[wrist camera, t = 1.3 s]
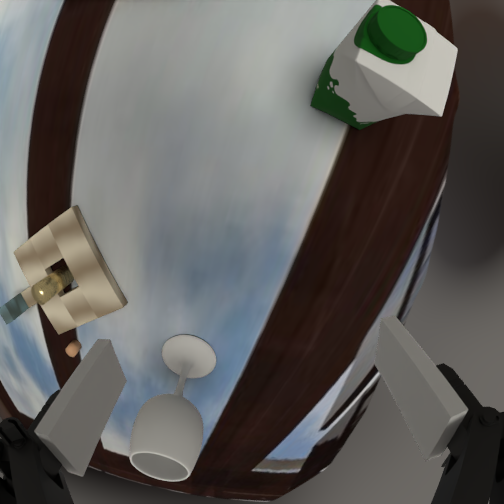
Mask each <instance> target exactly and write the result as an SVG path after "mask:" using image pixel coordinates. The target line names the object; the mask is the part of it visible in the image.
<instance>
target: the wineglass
mask: <svg viewBox="0 0 504 504" xmlns="http://www.w3.org/2000/svg"><path fill="white" fill-rule="evenodd" d="M162 357H163V360H164V362H165V364H166V365H167V366H168V368H169V369H170V370H172V371H173V372H174V373H176V374H178V375H180V378H179V381H178V385H177V388H176V390H175V392H174V394H161V395H157V396H155V397H153V398H151V399H149V400H148V401H147V402H145V404H144V405H143V406H142V407H141V409H140V411H139V413H138V415H137V417H136V419H135V422H134V425H133V429H132V433H131V440H130V454H129V457H130V461H131V463H132V464H133V466H134V467H135V468H136V469H138V470H139V471H141V472H142V473H144V474H146V475H148V476H150V477H153V478H156V479H160V480H165V481H181V480H184V479H186V478H188V477H189V476H190V474H191V472H192V470H193V468H194V466H195V463H196V461H197V459H198V456H199V453H200V449H201V445H202V439H203V421H202V418H201V415H200V413H199V411H198V410H197V408H196V407H195V406H194V405H193V404H192V403H191V402H190V401H189V400H187V399H186V398H184V397H183V389H184V385H185V381H186V378H200V377H204V376H206V375H208V374H209V373H211V372H212V371H213V369H214V368H215V365H216V355H215V353H214V351H213V349H212V348H211V346H210V345H209V344H208V343H206V342H205V341H204V340H202V339H200V338H198V337H195V336H191V335H178V336H174V337H172V338H170V339H169V340H167V341H166V342H165V344H164V345H163V348H162Z"/></svg>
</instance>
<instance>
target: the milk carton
mask: <svg viewBox="0 0 504 504" xmlns="http://www.w3.org/2000/svg"><path fill="white" fill-rule="evenodd" d="M457 50H458V49H457V48H456V47H455V46H454V45H453V44H451V43H450V42H449V41H448V40H446V39H445V38H444V37H442V36H441V35H440V34H438V33H437V32H436V30H435V29H434V28H433V27H431V26H430V25H429V24H427V23H425V22H423V21H422V20H420V19H419V18H417V17H416V16H415V15H413V14H412V13H411V12H410V11H408V10H406V9H404V8H402V7H400V6H398V5H396V4H395V3H393V2H391V1H389V0H376V1H375V2H374V3H373V5H372V6H371V7H370V8H369V9H368V11H367V12H366V13H365V14H364V15H363V17H362V18H361V19H360V20H359V22H358V23H357V24H356V25H355V26H354V28H353V29H352V30H351V31H350V32H349V34H348V35H347V36H346V37H345V38H344V40H343V41H342V42H341V43H340V45H339V46H338V47H337V48H336V50H335V51H334V52H333V53H332V54H331V56H330V57H329V58H328V60H327V62H326V64H325V66H324V68H323V70H322V73H321V75H320V78H319V80H318V83H317V86H316V90H315V93H314V96H313V99H312V102H311V105H310V106H312V107H314V108H317V109H319V110H321V111H323V112H325V113H327V114H329V115H331V116H333V117H335V118H337V119H339V120H341V121H343V122H345V123H347V124H349V125H351V126H353V127H355V128H357V129H359V130H361V129H363V128H365V127H367V126H369V125H371V124H373V123H375V122H377V121H380V120H384V119H387V118H391V117H394V116H398V115H402V114H420V115H433V116H442V114H443V111H444V107H445V103H446V100H447V96H448V92H449V88H450V84H451V79H452V75H453V70H454V66H455V61H456V55H457Z"/></svg>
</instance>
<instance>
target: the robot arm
mask: <svg viewBox="0 0 504 504" xmlns="http://www.w3.org/2000/svg"><path fill="white" fill-rule="evenodd" d="M375 365H376V367H377V369H378V371H379V372H380V374H381V376H382V378H383V379H384V382H385V383H386V385H387V387H388V389H389V391H390V393H391V394H392V396H393V398H394V400H395V402H396V404H397V405H398V408H399V410H400V411H401V414H402V415H403V417H404V419H405V421H406V423H407V425H408V427H409V429H410V431H411V433H412V435H413V437H414V439H415V441H416V443H417V445H418V447H419V449H420V451H421V453H422V455H423V457H424V459H425V461H429V460H431V459H433V458H436V457H438V456H440V455H442V454H443V452H444V451H445V449H446V447H448V448H449V450H450V454H449V455H448V457H447V458H446V460H445V461H444V463H443V464H442V467H444V466H445V468H444V471H443V474H442V477H441V480H440V482H439V485H438V488H437V490H436V493H435V495H434V498H433V500H432V503H431V504H488V501H489V504H504V412H501V413H499V412H498V411H497V410H496V409H495V408H491V407H483V406H482V405H481V404H480V403H479V402H478V400H477V399H476V398H475V396H474V395H473V394H472V392H471V391H470V390H469V389H468V387H467V386H466V385H464V382H463V381H462V380H461V379H460V378H459V376H458V375H457V374H456V372H455V371H454V370H453V369H452V368H450V367H449V366H447V365H445V364H444V363H443V364H440V365H437V366H435V364H434V363H433V362H432V360H431V359H430V358H429V357H428V355H427V354H426V353H425V352H424V351H423V349H422V348H421V347H420V345H419V344H418V343H417V342H416V340H415V339H414V338H413V337H412V336H411V334H410V333H409V332H408V331H407V330H406V328H405V327H404V326H403V325H402V324H401V322H400V321H399V320H398V319H397V318H396V316H391V317H386V318H381V322H380V330H379V337H378V344H377V351H376V357H375ZM126 381H127V380H126V378H125V376H124V373H123V371H122V369H121V366H120V364H119V361H118V359H117V356H116V354H115V351H114V349H113V346H112V343H111V340H108V339H98V340H97V341H96V342H95V344H94V345H93V346H92V348H91V349H90V350H89V352H88V353H87V355H86V356H85V357H84V359H83V360H82V361H81V363H80V364H79V366H78V367H77V368H76V370H75V371H74V373H73V374H72V375H71V377H70V378H69V380H68V381H67V382H66V384H65V385H64V387H63V388H62V390H57V391H56V392H55V393H54V394H52V395H51V396H50V397H49V399H48V400H47V402H46V403H45V405H44V406H43V408H42V409H41V411H40V412H39V414H38V415H37V417H36V418H35V420H34V421H33V423H32V424H31V426H30V427H29V429H28V430H26V429H25V428H24V426H23V425H22V424H21V422H20V421H19V420H18V419H17V418H14V417H10V418H6V419H4V420H3V421H2V422H1V423H0V437H1V438H2V439H0V472H1V473H3V474H4V476H3V479H2V478H1V477H0V504H74V503H73V500H72V498H71V495H70V492H69V490H68V487H67V484H66V482H65V478H64V475H63V473H62V472H61V470H60V467H61V466H62V465H63V466H64V467H65V468H66V469H67V471H68V472H70V473H73V474H76V475H79V476H83V475H84V473H85V471H86V468H87V466H88V464H89V461H90V459H91V457H92V454H93V452H94V450H95V447H96V445H97V443H98V441H99V439H100V436H101V434H102V432H103V430H104V428H105V425H106V423H107V421H108V419H109V417H110V415H111V412H112V410H113V408H114V406H115V404H116V402H117V400H118V398H119V396H120V394H121V392H122V390H123V387H124V385H125V383H126ZM445 464H446V465H445ZM489 497H490V500H489Z"/></svg>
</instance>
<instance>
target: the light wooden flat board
mask: <svg viewBox="0 0 504 504" xmlns="http://www.w3.org/2000/svg"><path fill="white" fill-rule="evenodd" d="M14 254H15V257H16V259H17V261H18V263H19V265H20V267H21V269H22V271H23V273H24V275H25V277H26V279H27V281H28V283H29V285H30V287H29V288H27V289H26V290H24V291H23V292H21V293H20V294H18V295H17V296H15V297H14V298H13V299H11V300H10V301H9V302H7V303H6V304H4V305H3V306H2V307H0V314H1V316H2V317H3V319H4V321H5V323H6V324H8V323H10V322H12V321H13V320H15V319H16V318H17V317H18V316H20V315H21V314H22V313H23V312H24V311H26V310H27V309H28V308H30V307H31V306H33V305H35V304H36V303H37V302H36V301H35V300H34V299H33V297H32V294H31V288H32V286H33V285H35V284H36V283H37V282H39V281H40V280H42V279H43V278H45V277H46V276H48V275H49V274H51V273H52V272H53V271H52V269H51V267H50V266H51V265H53V264H54V263H56V262H58V261H59V260H61V259H62V258H64V260H65V262H66V263H67V265H68V267H69V269H70V271H71V273H72V275H73V277H74V279H75V280H76V282H77V284H78V287H76V288H74V289H72V290H70V291H68V292H66V293H64V291H63V290H61V291H60V292H59V293H58V294H56V295H55V296H54V297H53V298H51V299H50V300H49V301H48V302H46V303H45V304H44V305H41V307H42V308H43V310H44V312H45V313H46V315H47V317H48V318H49V320H50V322H51V323H52V325H53V326H54V328H55V330H56V331H57V333H58V334H61V333H63V332H66V331H68V330H71V329H73V328H75V327H78V326H80V325H83V324H85V323H87V322H90V321H92V320H95V319H97V318H99V317H102V316H104V315H107V314H109V313H111V312H114V311H116V310H119V309H121V308H123V307H124V306H125V305H126V304H127V303H128V302H127V301H126V299H125V297H124V296H123V294H122V292H121V290H120V289H119V287H118V285H117V283H116V282H115V280H114V278H113V276H112V274H111V273H110V271H109V269H108V267H107V265H106V263H105V261H104V260H103V258H102V256H101V254H100V252H99V250H98V248H97V246H96V244H95V242H94V240H93V238H92V236H91V234H90V232H89V230H88V228H87V225H86V223H85V221H84V219H83V217H82V215H81V212H80V210H79V208H78V206H74V207H71V208H70V209H68V210H67V211H66V212H64V213H63V214H61V215H60V216H59V217H57V218H56V219H55V220H53V221H52V222H51V223H49V224H48V225H47V226H45V227H44V228H43V229H41V230H40V231H39V232H38V233H36V234H35V235H34V236H32V237H31V238H30V239H29V240H28V241H26V242H25V243H24V244H23V245H21V246H20V247H19V248H18V249H17V250H16V251H14Z"/></svg>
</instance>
